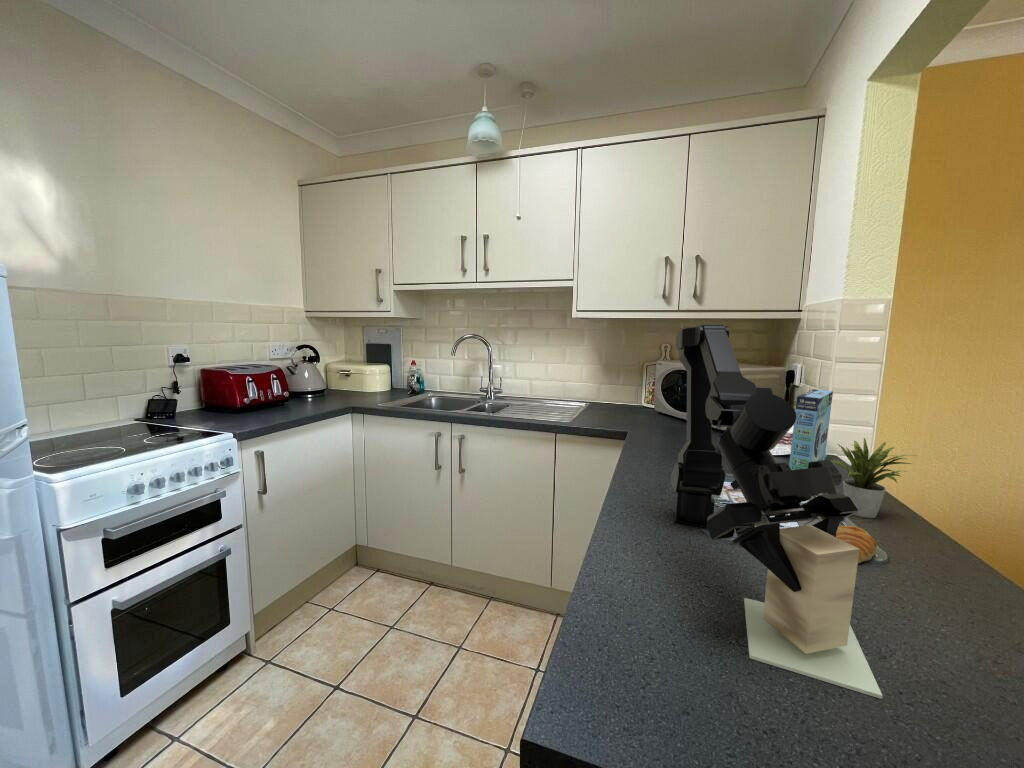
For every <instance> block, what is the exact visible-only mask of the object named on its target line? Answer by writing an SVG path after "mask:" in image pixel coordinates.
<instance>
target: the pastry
mask: <svg viewBox="0 0 1024 768" xmlns="http://www.w3.org/2000/svg"><path fill="white" fill-rule="evenodd" d="M836 538H838V539H840V540H842V541H845V542H847V543H849V544H851V545H853V546H855V547H857V548H859V557H858V564H861V563H862V562H869V561H871V560H872V557H874V556H875V555H876V550H877V548H878V546H877V542H876V540H875V539H874V538H873V536H871V535H870V533H869V532H868V531H866V530H865V529H864V528H861V527H860V526H856V525H843V524H842V525H839V526H838V529H837V532H836Z"/></svg>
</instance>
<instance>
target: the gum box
mask: <svg viewBox="0 0 1024 768" xmlns="http://www.w3.org/2000/svg"><path fill="white" fill-rule="evenodd" d="M833 394H834V391H833V390H825V389H814V388H813V389H811V390H808V391H807V392H803V393H802V394H799V395H796V401H795V402H796V404H795V412H796V421H795V423H794V425H793V427H792V428H793V430H792V437H791V444H790V445H791V447H790V453H789V462H788V465H789V466H790V468H791V470H797V469H807V468H808V464H809V462H814V461H819V460H826V453H827V452H826V451H827V445H828V435H829V428H830V427H829V426H830V419H831V412H832V411H831V409H832V401H833Z"/></svg>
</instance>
